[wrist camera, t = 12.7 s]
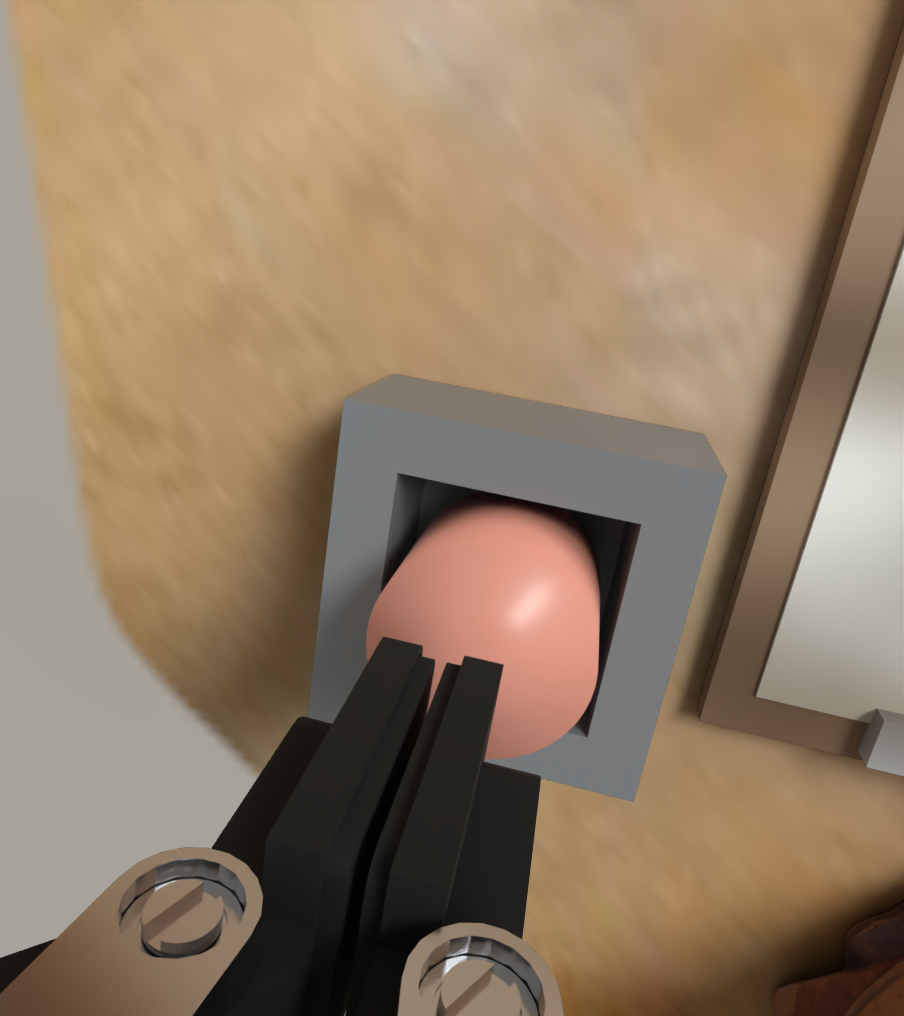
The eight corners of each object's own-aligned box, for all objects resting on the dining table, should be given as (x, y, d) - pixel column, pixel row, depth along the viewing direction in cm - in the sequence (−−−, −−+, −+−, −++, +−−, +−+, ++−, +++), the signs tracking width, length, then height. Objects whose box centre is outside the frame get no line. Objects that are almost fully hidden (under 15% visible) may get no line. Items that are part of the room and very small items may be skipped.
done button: (578, 683, 17) (571, 783, 14) (401, 640, 18) (353, 727, 14) (620, 511, 16) (623, 577, 12) (427, 471, 16) (381, 523, 13)
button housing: (629, 709, 19) (633, 802, 16) (356, 643, 20) (306, 718, 17) (704, 434, 17) (726, 474, 14) (393, 373, 18) (344, 398, 15)
